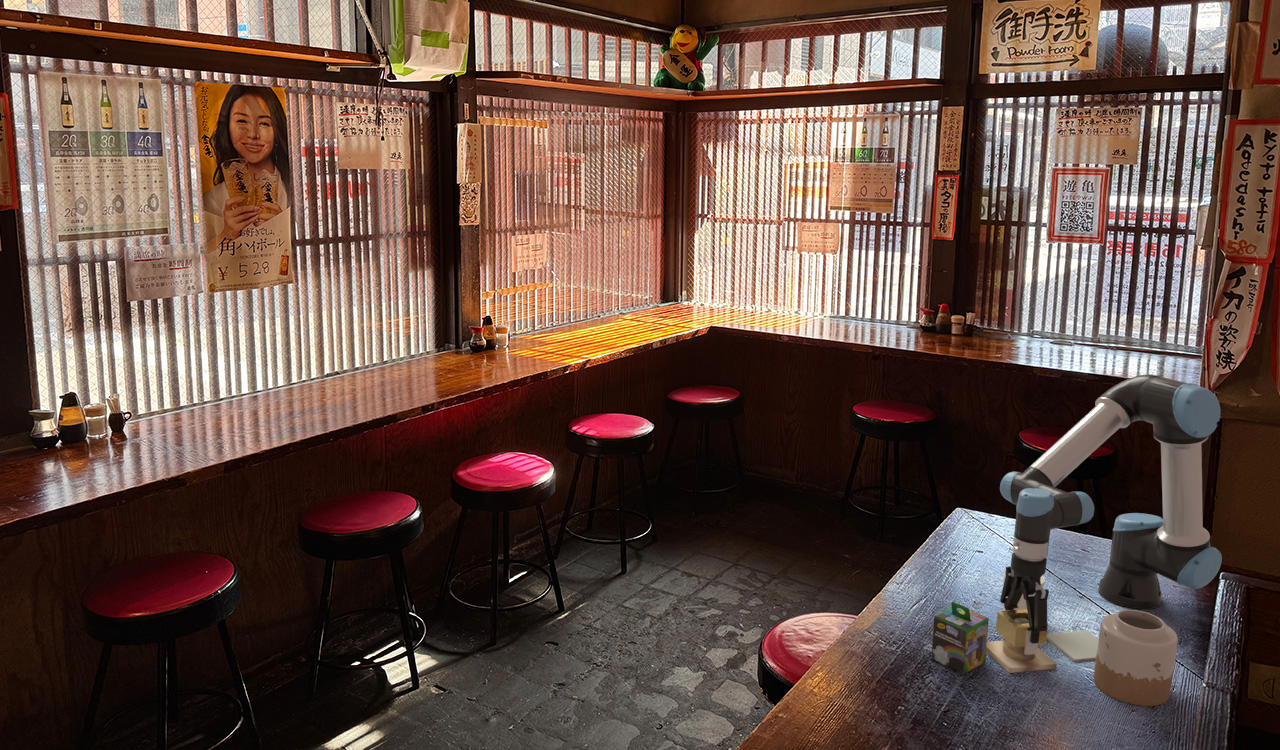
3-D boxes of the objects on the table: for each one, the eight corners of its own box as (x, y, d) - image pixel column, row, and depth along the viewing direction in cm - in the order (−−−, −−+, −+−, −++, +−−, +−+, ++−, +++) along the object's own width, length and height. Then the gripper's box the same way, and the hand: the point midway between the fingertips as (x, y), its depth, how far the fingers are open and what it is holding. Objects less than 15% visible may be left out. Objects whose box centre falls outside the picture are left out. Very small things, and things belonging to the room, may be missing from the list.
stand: (1026, 642, 229) (1030, 607, 227) (1056, 668, 218) (1060, 631, 216) (981, 646, 227) (985, 610, 225) (1009, 673, 216) (1013, 635, 213)
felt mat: (1087, 632, 234) (1087, 630, 234) (1119, 657, 223) (1119, 655, 223) (1043, 636, 232) (1044, 634, 232) (1074, 661, 221) (1074, 659, 221)
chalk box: (986, 663, 220) (992, 605, 216) (963, 675, 214) (969, 616, 211) (952, 647, 227) (957, 590, 224) (929, 658, 221) (934, 601, 218)
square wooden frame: (1025, 627, 226) (1028, 608, 225) (1045, 644, 218) (1048, 625, 217) (995, 630, 224) (997, 611, 223) (1014, 647, 217) (1016, 627, 215)
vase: (1081, 668, 218) (1090, 602, 214) (1148, 670, 217) (1158, 604, 214) (1111, 706, 203) (1121, 636, 199) (1183, 708, 202) (1194, 637, 199)
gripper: (990, 538, 226) (981, 624, 231) (1041, 575, 206) (1030, 668, 211) (1018, 536, 227) (1009, 621, 232) (1072, 573, 207) (1060, 665, 212)
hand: (1019, 644), depth 222 cm, fingers closed on square wooden frame, 8 cm apart
